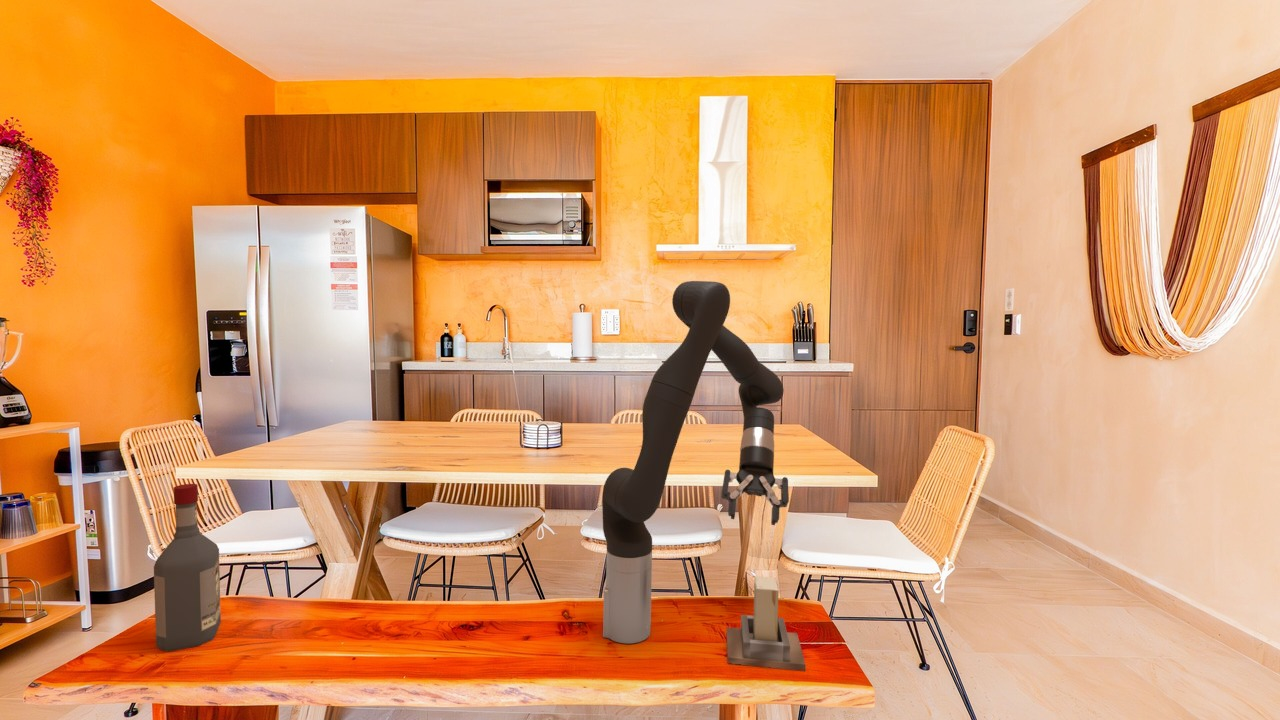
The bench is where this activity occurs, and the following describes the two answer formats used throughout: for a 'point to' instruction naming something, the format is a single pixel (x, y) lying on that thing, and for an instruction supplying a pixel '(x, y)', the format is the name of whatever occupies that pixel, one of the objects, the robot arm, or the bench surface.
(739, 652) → the serum holder
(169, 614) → the liquor
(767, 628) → the skincare box
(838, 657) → the bench surface
